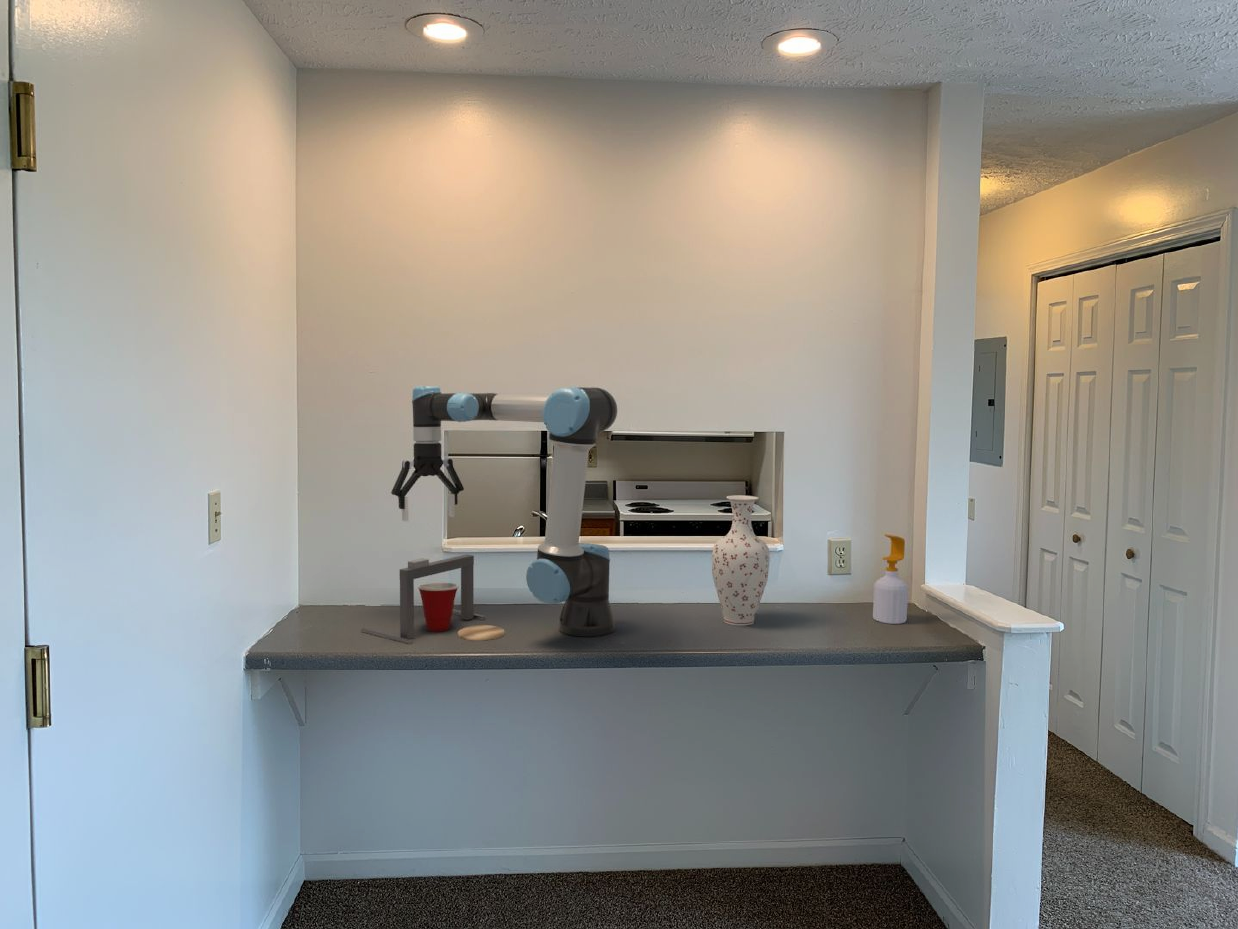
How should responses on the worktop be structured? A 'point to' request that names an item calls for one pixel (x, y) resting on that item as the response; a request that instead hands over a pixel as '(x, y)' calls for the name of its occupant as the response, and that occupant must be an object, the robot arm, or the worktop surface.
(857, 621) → the worktop surface
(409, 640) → the track
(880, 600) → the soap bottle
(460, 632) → the cork mat
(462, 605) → the gantry frame
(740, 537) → the vase
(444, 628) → the plastic cup
